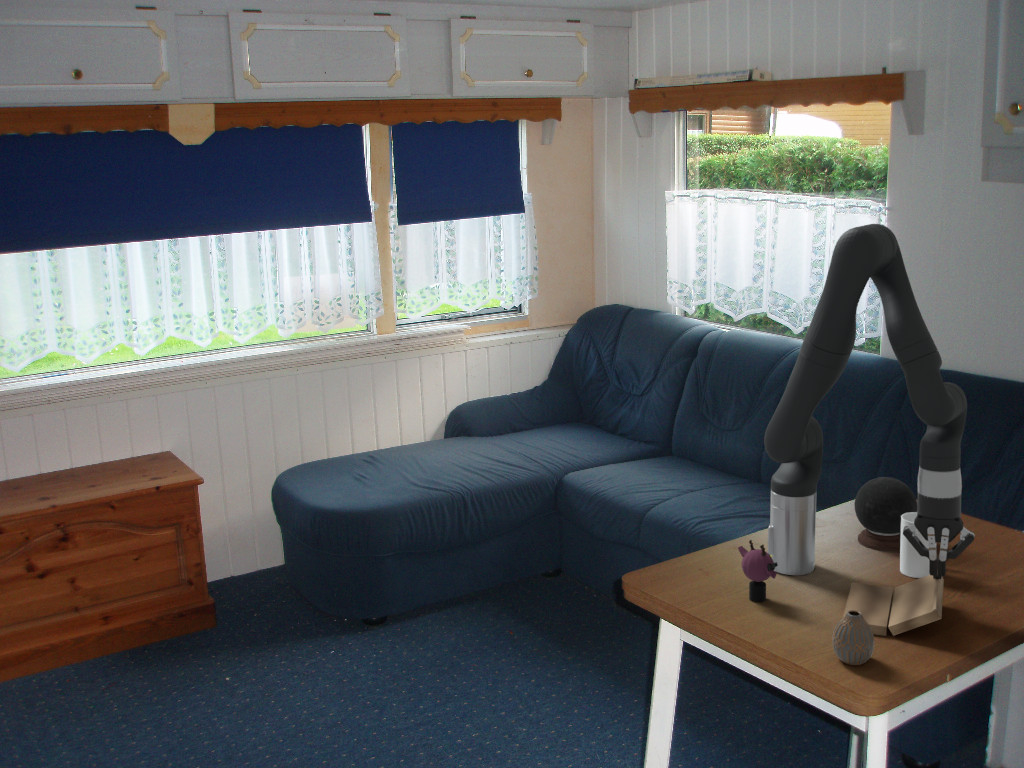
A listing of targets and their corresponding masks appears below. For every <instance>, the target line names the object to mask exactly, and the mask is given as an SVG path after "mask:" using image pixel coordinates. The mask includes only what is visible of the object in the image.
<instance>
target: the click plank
mask: <svg viewBox="0 0 1024 768" xmlns="http://www.w3.org/2000/svg"><path fill="white" fill-rule="evenodd" d="M937 575H938V569H937ZM944 580H945V579H944V577H943V576H942V578H941V579H933V576H932V575H928V576H925V577H922V578H916V579H915V580H912V581H909V582H907V583H904V584H901V585H898V586H896V587H894V589H893V598H892V604H891V610H890V616H889V622H888V629H889V631H890V633H891V634H892V636H896V635H899V634H902V633H905V632H908V631H910V630H913V629H916V628H919V627H922V626H925V625H928V624H931V623H933V622H937V621H940V620H942V613H943V600H944V599H943V598H944V597H943V596H944V582H945V581H944Z"/></svg>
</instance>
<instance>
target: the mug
mask: <svg viewBox="0 0 1024 768" xmlns="http://www.w3.org/2000/svg"><path fill="white" fill-rule="evenodd" d="M916 516H917V512H910V513H905V514H903V515H902V516H901V539H900V551H899V552H900V553H899V572H900V573H901V574H902V575H904V576H907V577H909V578H914V579H920V578H922V577H925V576H928V575H930V573H929V559H928V558H927V557H925V556H920V554H919V553H918V552H917V551H916V550H915V548H914V547H913V546H912V545H911V543H910V542H909V541H908V540H907V539H906V537H905V536H904V535H903V529H904V527H905V526H908V527H909V526H910V525H912V524H913V523H914V520H915V518H916ZM916 531H917V537H918V538H919V539H920V541H921V542H922V543H923V544H924V546H925V547H926V548H928V549H929V545H928V541H927V540H925V539H924V537H923V536H922V535H921V533H920V532H919V531H918V529H916Z"/></svg>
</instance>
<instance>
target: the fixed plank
mask: <svg viewBox="0 0 1024 768" xmlns="http://www.w3.org/2000/svg"><path fill="white" fill-rule="evenodd" d="M893 596H894V586H893V587H892V586H885V585H884V586H883V585H877V584H869V583H861V582H851V586H850V589H849V593H848V596H847V601H846V604H845V608H844V611H843V616H842V618H844V617H845V615H846V613H847V612H848V611H850V610H856V611H859V612H861V613H862V616H863V618H864V619H865V621H866V622H867V623H868V624H869V626H870V627H871V629H872V631H873V634H874V635H877V636H884V637H887V633H888V629H889V627H888V626H889V620H890V614H891V608H892V602H893Z"/></svg>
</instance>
